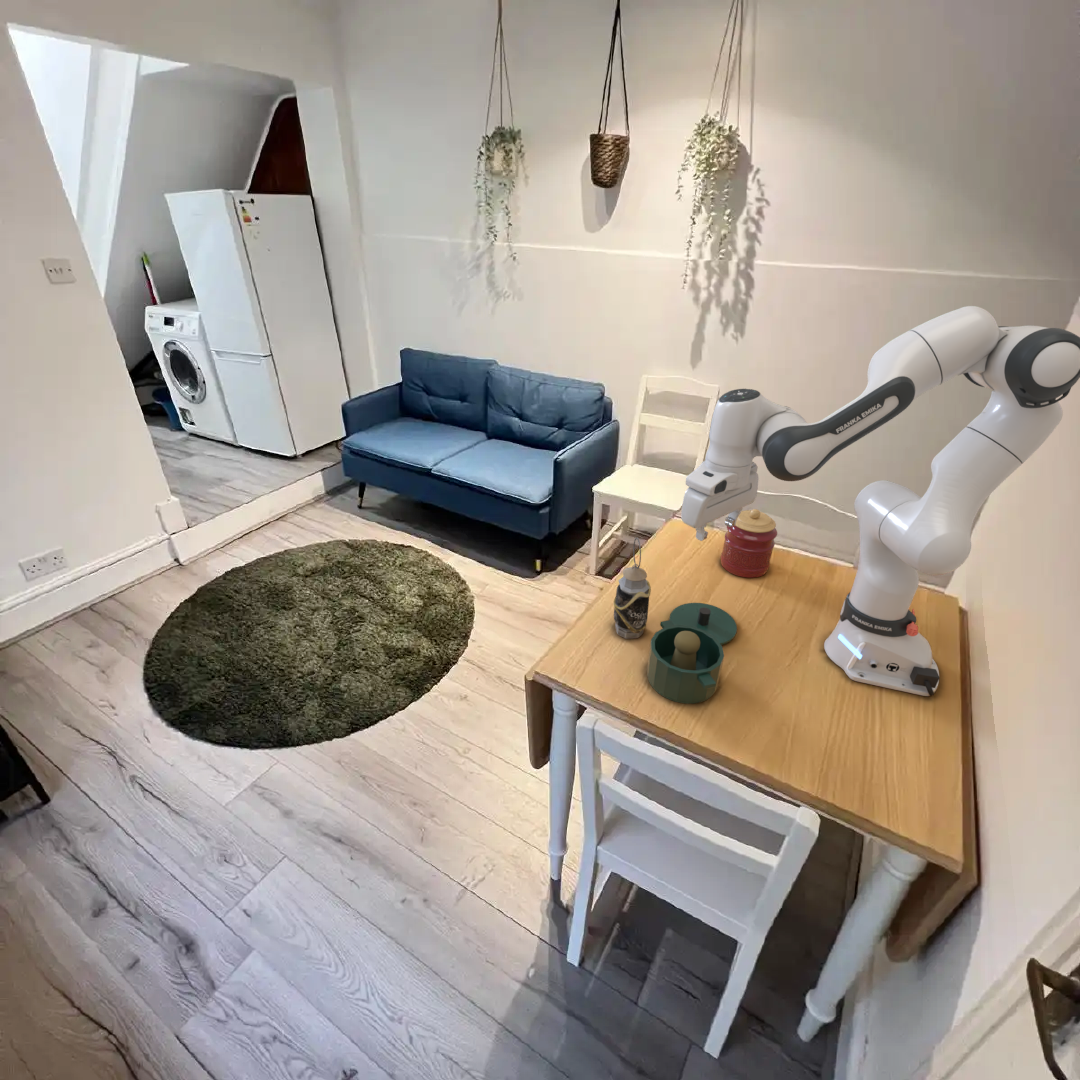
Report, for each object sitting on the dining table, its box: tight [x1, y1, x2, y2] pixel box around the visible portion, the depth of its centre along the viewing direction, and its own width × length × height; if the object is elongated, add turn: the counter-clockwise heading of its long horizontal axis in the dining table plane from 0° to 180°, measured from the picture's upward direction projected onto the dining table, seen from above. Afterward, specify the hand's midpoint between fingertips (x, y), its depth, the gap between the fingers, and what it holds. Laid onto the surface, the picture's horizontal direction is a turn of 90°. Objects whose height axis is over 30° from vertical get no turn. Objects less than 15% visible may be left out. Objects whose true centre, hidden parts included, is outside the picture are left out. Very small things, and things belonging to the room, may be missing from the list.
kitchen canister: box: [720, 508, 778, 579], centre depth 156 cm, size 13×13×18 cm
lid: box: [668, 602, 738, 646], centre depth 136 cm, size 16×16×5 cm
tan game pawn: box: [670, 631, 700, 671], centre depth 120 cm, size 6×6×11 cm
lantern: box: [613, 537, 652, 640], centre depth 130 cm, size 9×8×25 cm
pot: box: [646, 619, 725, 705], centre depth 121 cm, size 15×20×8 cm
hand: (715, 532), depth 122 cm, fingers open, 8 cm apart
